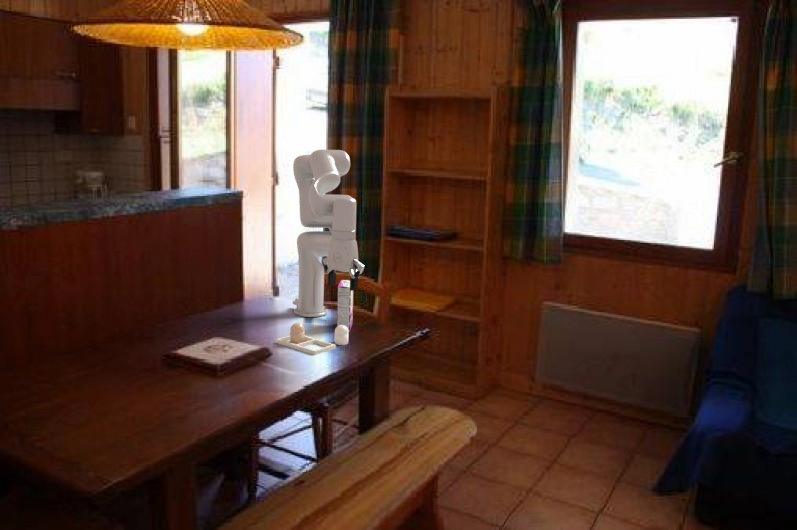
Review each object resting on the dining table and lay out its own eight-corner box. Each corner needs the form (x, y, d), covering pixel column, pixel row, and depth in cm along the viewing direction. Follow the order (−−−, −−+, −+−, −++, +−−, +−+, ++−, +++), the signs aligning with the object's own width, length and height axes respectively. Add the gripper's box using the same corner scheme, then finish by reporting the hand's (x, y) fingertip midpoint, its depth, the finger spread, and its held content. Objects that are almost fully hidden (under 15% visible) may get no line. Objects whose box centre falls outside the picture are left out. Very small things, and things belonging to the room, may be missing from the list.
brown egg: (287, 343, 236) (287, 323, 234) (297, 340, 240) (297, 320, 238) (297, 346, 233) (297, 326, 232) (307, 343, 237) (307, 323, 235)
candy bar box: (339, 323, 264) (340, 279, 261) (352, 323, 264) (354, 280, 261) (335, 331, 253) (337, 286, 250) (350, 332, 253) (351, 287, 250)
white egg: (331, 345, 238) (332, 325, 237) (340, 342, 242) (341, 322, 240) (341, 348, 235) (342, 327, 234) (351, 345, 239) (351, 325, 238)
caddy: (276, 345, 235) (276, 339, 235) (297, 339, 243) (297, 333, 243) (314, 357, 225) (315, 351, 225) (335, 350, 232) (335, 344, 232)
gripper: (316, 233, 234) (315, 285, 237) (356, 239, 223) (354, 293, 226) (332, 231, 240) (331, 282, 243) (371, 237, 229) (370, 290, 232)
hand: (342, 287), depth 235 cm, fingers open, 9 cm apart
